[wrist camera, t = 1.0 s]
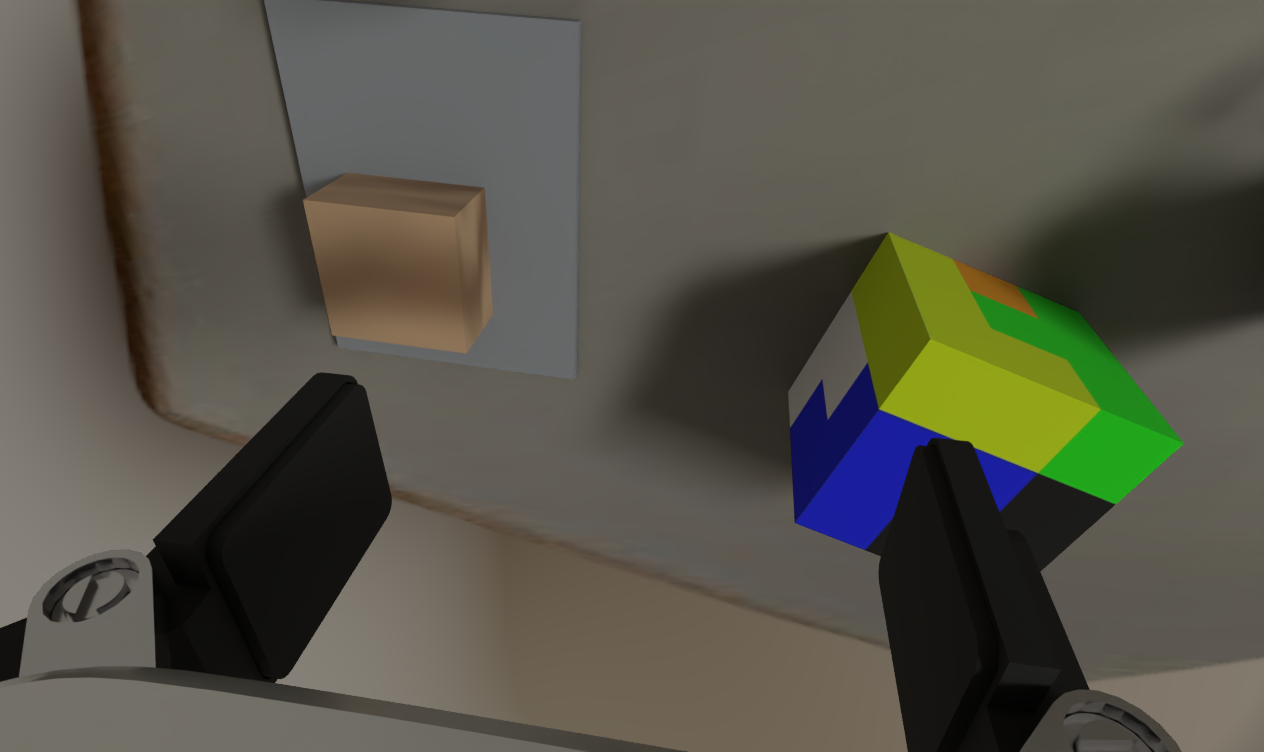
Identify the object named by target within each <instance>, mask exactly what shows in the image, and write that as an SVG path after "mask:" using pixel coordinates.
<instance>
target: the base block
mask: <svg viewBox="0 0 1264 752" xmlns="http://www.w3.org/2000/svg"><path fill="white" fill-rule="evenodd" d="M303 203H304V208H305V212H306V217H307V221H308V226H309V231H310V235H311V240H312V244H313V249H314V254H315V258H316V263H317V268H318V272H319V277H320V281H321V286H322V291H323V295H324V300H325V304H326V309H327V314H328V318H329V323H330V327H331V332H332V335H333V336H340V337H347V338H355V339H362V340H370V341H377V342H385V343H392V344H399V345H407V346H414V347H422V348H429V349H437V350H444V351H452V352H459V353H466V354H467V352H468V351H469V350H470V348H471V347H472V345H473V344H474V342H475V341H476V339H477V338H478V336H479V335H480V333H481V332H482V330H483V329H484V328H485V326H486V325H487V323H488V322H489V320H490V319H491V317H492V316H493V307H492V291H491V276H490V261H489V246H488V230H487V215H486V200H485V188H484V187H475V186H466V185H457V184H448V183H438V182H429V181H420V180H411V179H402V178H393V177H383V176H374V175H365V174H356V173H346V174H344V175H343V176H341V177H339V178H338V179H336V180H334V181H333V182H331V183H330V184H328V185H326V186H325V187H323V188H321V189H320V190H318V191H317V192H315V193H313V194H312V195H310V196H308V197H307V198H305V199H303Z"/></svg>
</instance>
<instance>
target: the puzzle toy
mask: <svg viewBox="0 0 1264 752" xmlns="http://www.w3.org/2000/svg"><path fill="white" fill-rule="evenodd" d="M788 398H789V418H790V438H791V458H792V478H793V498H794V518H795V523H796V524H799V525H801V526H804V527H807V528H809V529H812V530H814V531H817V532H819V533H822V534H825V535H827V536H830V537H832V538H835V539H838V540H840V541H843V542H845V543H848V544H850V545H853V546H856V547H858V548H861V549H863V550H866V551H869V552H871V553H874V554H876V555H879V556H881V555H882V552H883V549H884V546H885V542H886V539H887V536H888V533H889V530H890V526H891V523H892V520H893V517H894V514H895V510H896V507H897V504H898V501H899V498H900V494H901V491H902V488H903V485H904V481H905V478H906V475H907V472H908V469H909V465H910V462H911V459H912V456H913V453H914V450H915V448H916V447H917V446H918V445H922V446H927V444H928V442H929V440H930V439H931V438H942V439H951V440H961V441H969V442H971V443H972V445H973V446H974V448H975V451H976V454H977V456H978V459H979V461H980V464H981V466H982V469H983V471H984V474H985V477H986V479H987V482H988V484H989V487H990V489H991V492H992V494H993V497H994V499H995V502H996V505H997V507H998V510H999V512H1000V515H1001V517H1002V520H1003V522H1004V525H1005V528H1006V529H1007V530H1016V531H1019V532H1020V533H1021V534H1023V535H1024V537H1025V539H1026V540H1027V542H1028V544H1029V546H1030V549H1031V551H1032V553H1033V556H1034V558H1035V561H1036V563H1037V565H1038V568H1039V570H1040V571H1041V570H1043V569H1044V568H1045V567H1046V566H1047V565H1048V564H1049V563H1050V562H1052V561H1053V560H1054V559H1055V558H1056V557H1057V556H1058V555H1059V554H1060V553H1062V552H1063V551H1064V550H1065V549H1066V548H1067V547H1068V546H1069V545H1071V544H1072V543H1073V542H1074V541H1075V540H1076V539H1077V538H1078V537H1080V536H1081V535H1082V534H1083V533H1084V532H1085V531H1086V530H1087V529H1089V528H1090V527H1091V526H1092V525H1093V524H1094V523H1095V522H1096V521H1098V520H1099V519H1100V518H1101V517H1102V516H1103V515H1104V514H1105V513H1107V512H1108V511H1109V510H1110V509H1111V508H1112V507H1113V506H1114V505H1115V504H1117V503H1118V502H1119V501H1120V500H1121V499H1122V498H1123V497H1124V496H1126V495H1127V494H1128V493H1129V492H1130V491H1131V490H1132V489H1133V488H1135V487H1136V486H1137V485H1138V484H1139V483H1140V482H1141V481H1142V480H1144V479H1145V478H1146V477H1147V476H1148V475H1149V474H1150V473H1151V472H1153V471H1154V470H1155V469H1156V468H1157V467H1158V466H1159V465H1160V464H1161V463H1163V462H1164V461H1165V460H1166V459H1167V458H1168V457H1169V456H1170V455H1172V454H1173V453H1174V452H1175V451H1176V450H1177V449H1178V448H1179V447H1181V446H1182V445H1183V444H1184V443H1183V442H1182V440H1181V439H1180V438H1179V437H1178V435H1177V434H1176V433H1175V432H1174V430H1173V429H1172V428H1171V427H1170V425H1169V424H1168V423H1167V422H1166V420H1165V419H1164V418H1163V417H1162V415H1161V414H1160V413H1159V412H1158V410H1157V409H1156V408H1155V407H1154V405H1153V404H1152V403H1151V402H1150V400H1149V399H1148V398H1147V397H1146V395H1145V394H1144V393H1143V392H1142V390H1141V389H1140V388H1139V387H1138V385H1137V384H1136V383H1135V382H1134V380H1133V379H1132V378H1131V377H1130V375H1129V374H1128V373H1127V372H1126V370H1125V369H1124V368H1123V367H1122V365H1121V364H1120V363H1119V362H1118V360H1117V359H1116V358H1115V357H1114V355H1113V354H1112V353H1111V352H1110V350H1109V349H1108V348H1107V347H1106V345H1105V344H1104V343H1103V342H1102V340H1101V339H1100V338H1099V337H1098V335H1097V334H1096V333H1095V332H1094V330H1093V329H1092V328H1091V327H1090V325H1089V324H1088V323H1087V321H1086V320H1085V319H1084V318H1083V316H1082V315H1081V314H1080V313H1079V312H1077V311H1075V310H1072V309H1070V308H1067V307H1065V306H1063V305H1060V304H1058V303H1056V302H1053V301H1051V300H1048V299H1046V298H1044V297H1041V296H1039V295H1037V294H1034V293H1032V292H1029V291H1027V290H1025V289H1022V288H1020V287H1017V286H1015V285H1013V284H1010V283H1008V282H1006V281H1003V280H1001V279H998V278H996V277H994V276H991V275H989V274H987V273H984V272H982V271H979V270H977V269H975V268H972V267H970V266H968V265H965V264H963V263H960V262H958V261H956V260H953V259H951V258H949V257H946V256H944V255H941V254H939V253H937V252H934V251H932V250H930V249H927V248H925V247H922V246H920V245H918V244H915V243H913V242H911V241H908V240H906V239H903V238H901V237H899V236H896V235H894V234H892V233H889V232H888V234H887V235H886V237H885V238H884V240H883V242H882V243H881V245H880V246H879V248H878V249H877V251H876V253H875V254H874V256H873V257H872V259H871V261H870V262H869V264H868V265H867V267H866V269H865V270H864V272H863V273H862V275H861V277H860V278H859V280H858V281H857V283H856V285H855V286H854V288H853V289H852V291H851V293H850V294H849V296H848V297H847V299H846V301H845V302H844V304H843V305H842V307H841V308H840V310H839V312H838V313H837V315H836V316H835V318H834V320H833V321H832V323H831V324H830V326H829V328H828V329H827V331H826V332H825V334H824V336H823V337H822V339H821V340H820V342H819V344H818V345H817V347H816V348H815V350H814V352H813V353H812V355H811V356H810V358H809V360H808V361H807V363H806V364H805V366H804V367H803V369H802V371H801V372H800V374H799V375H798V377H797V379H796V380H795V382H794V383H793V385H792V387H791V388H790V390H789V391H788Z"/></svg>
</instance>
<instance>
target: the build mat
mask: <svg viewBox="0 0 1264 752" xmlns="http://www.w3.org/2000/svg"><path fill="white" fill-rule="evenodd" d="M264 3H265V7H266V12H267V17H268V21H269V26H270V31H271V36H272V40H273V45H274V50H275V54H276V59H277V64H278V68H279V73H280V78H281V82H282V87H283V92H284V96H285V101H286V106H287V110H288V115H289V120H290V124H291V129H292V134H293V138H294V143H295V148H296V152H297V157H298V162H299V166H300V171H301V176H302V180H303V185H304V190H305V195H306V198H307V197H308V196H310V195H312V194H313V193H315V192H317V191H318V190H320V189H321V188H323V187H325V186H326V185H328V184H330V183H331V182H333V181H334V180H336V179H338V178H339V177H341V176H343V175H344V174H346V173H356V174H365V175H374V176H383V177H393V178H402V179H411V180H420V181H429V182H438V183H448V184H457V185H466V186H475V187H484V188H485V200H486V215H487V230H488V246H489V261H490V276H491V291H492V307H493V316H492V317H491V319H490V320H489V322H488V323H487V325H486V326H485V328H484V329H483V330H482V332H481V333H480V335H479V336H478V338H477V339H476V341H475V342H474V344H473V345H472V347H471V348H470V350H469V351H468V352H467V354H466V353H459V352H452V351H444V350H437V349H429V348H422V347H414V346H407V345H399V344H392V343H385V342H377V341H370V340H362V339H355V338H347V337H340V336H336V339H337V344H338V348H344V349H352V350H359V351H366V352H374V353H381V354H388V355H396V356H403V357H410V358H418V359H425V360H433V361H440V362H447V363H455V364H462V365H469V366H477V367H484V368H491V369H499V370H506V371H513V372H521V373H528V374H535V375H543V376H550V377H557V378H565V379H572V380H574V379H575V377H576V374H577V306H578V223H579V139H580V55H581V20H574V19H562V18H550V17H538V16H525V15H513V14H501V13H489V12H477V11H465V10H453V9H441V8H429V7H417V6H405V5H393V4H380V3H368V2H356V1H344V0H264Z"/></svg>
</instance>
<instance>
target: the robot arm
mask: <svg viewBox="0 0 1264 752" xmlns="http://www.w3.org/2000/svg"><path fill="white" fill-rule="evenodd" d="M391 504H392V497H391V492H390V488H389V484H388V480H387V476H386V472H385V467H384V463H383V459H382V455H381V451H380V447H379V443H378V438H377V434H376V430H375V426H374V422H373V418H372V414H371V410H370V405H369V401H368V397H367V393H366V390H365V388H364V387H363V386H362V385H358V383H357V381H356V379H355V378H354V377H352V376H350V375H341V374H331V373H317V374H316V375H314V376H313V377H312V378H311V379H310V380H309V381H308V382H307V383H306V384H305V385H304V386H303V387H302V388H301V389H300V390H299V391H298V392H297V393H296V394H295V395H294V396H293V397H292V398H291V399H290V400H289V401H288V402H287V403H286V404H285V405H284V406H283V407H282V408H281V409H280V411H279V412H278V413H277V414H276V415H275V416H274V417H273V418H272V419H271V420H270V421H269V422H268V423H267V424H266V425H265V426H264V427H263V428H262V429H261V430H260V431H259V432H258V433H257V434H256V435H255V436H254V437H253V438H252V439H251V440H250V441H249V442H248V443H247V444H246V445H245V446H244V447H243V448H242V449H241V450H240V451H239V452H238V453H237V454H236V455H235V457H233V459H231V461H230V462H229V463H228V464H227V465H226V466H225V467H224V468H223V469H222V470H221V471H220V472H219V473H218V474H217V475H216V476H215V477H214V478H213V479H212V480H211V481H210V482H209V483H208V484H207V485H206V486H205V487H204V488H203V489H202V490H201V491H200V492H199V493H198V494H197V495H196V496H195V497H194V498H193V499H192V500H191V501H190V502H189V503H188V504H187V506H185V507H184V509H182V511H181V512H180V513H179V514H178V515H177V516H176V517H175V518H174V519H173V520H172V521H171V522H170V523H169V524H168V525H167V526H166V527H165V528H164V529H163V530H162V531H161V532H160V533H159V534H158V535H157V536H156V537H155V538H154V539H153V541H154V543H155V545H156V547H155V548H154V549H153V550H152V551H151V552H150V553H149V554H148V555H147V556H144V555H143V554H142V553H140V552H136V551H132V550H110V551H106V552H102V553H98V554H94V555H91V556H89V557H86V558H84V559H81V560H79V561H77V562H75V563H73V564H71V565H70V566H68V567H66V568H65V569H63V570H61V571H59V572H58V573H57V574H55V576H53V577H52V578H51V579H50V580H49V581H47V582H46V583H45V584H44V585H43V586H42V587H41V589H40V590H39V591H38V592H37V593H36V595H35V596H34V597H33V599H32V602H31V605H30V607H29V610H28V616H27V618H25V619H22V620H20V621H17V622H15V623H12V624H9V625H7V626H4V627H2V628H0V752H686V751H681V750H674V749H669V748H663V747H657V746H652V745H646V744H640V743H634V742H628V741H623V740H617V739H610V738H604V737H599V736H593V735H587V734H581V733H575V732H569V731H563V730H557V729H551V728H545V727H540V726H533V725H528V724H522V723H515V722H510V721H504V720H497V719H492V718H485V717H479V716H474V715H467V714H462V713H455V712H449V711H444V710H438V709H432V708H426V707H420V706H412V705H407V704H400V703H395V702H389V701H382V700H376V699H370V698H363V697H358V696H351V695H345V694H339V693H333V692H326V691H320V690H314V689H307V688H301V687H296V686H289V685H283V684H277V683H275V682H276V681H277V679H282V678H285V677H286V676H287V675H288V674H289V673H290V671H291V670H292V669H293V667H294V665H295V664H296V662H297V661H298V659H299V657H300V656H301V654H302V653H303V651H304V650H305V648H306V646H307V645H308V643H309V642H310V640H311V638H312V637H313V635H314V634H315V632H316V630H317V629H318V627H319V626H320V624H321V622H322V621H323V619H324V618H325V616H326V614H327V613H328V611H329V610H330V608H331V607H332V605H333V603H334V602H335V600H336V599H337V597H338V595H339V594H340V592H341V590H342V589H343V587H344V586H345V584H346V583H347V581H348V579H349V578H350V576H351V575H352V573H353V571H354V570H355V568H356V567H357V565H358V563H359V562H360V560H361V558H362V557H363V555H364V554H365V552H366V551H367V549H368V548H369V546H370V544H371V543H372V541H373V540H374V538H375V536H376V535H377V533H378V531H379V530H380V528H381V527H382V525H383V524H384V522H385V520H386V519H387V517H388V515H389V513H390V509H391ZM879 584H880V590H881V596H882V602H883V608H884V614H885V620H886V625H887V631H888V637H889V643H890V649H891V654H892V661H893V666H894V672H895V677H896V684H897V690H898V695H899V702H900V707H901V713H902V719H903V725H904V730H905V736H906V743H907V749H908V752H1181V750H1180V748H1179V746H1178V745H1177V743H1176V742H1175V741H1174V740H1173V739H1172V737H1171V736H1170V735H1169V734H1168V733H1167V732H1166V731H1165V729H1163V727H1162V726H1161V725H1160V724H1159V723H1157V722H1156V721H1155V720H1154V719H1152V718H1151V717H1150V716H1149V715H1147V714H1146V713H1145V712H1143V711H1142V710H1141V709H1140V708H1138V707H1136V706H1134V705H1132V704H1130V703H1128V702H1126V701H1125V700H1123V699H1121V698H1119V697H1116V696H1113V695H1110V694H1107V693H1104V692H1100V691H1094V690H1089V687H1088V685H1087V682H1086V680H1085V678H1084V675H1083V673H1082V671H1081V668H1080V666H1079V663H1078V661H1077V659H1076V656H1075V654H1074V651H1073V649H1072V647H1071V644H1070V642H1069V639H1068V637H1067V635H1066V632H1065V630H1064V628H1063V625H1062V623H1061V620H1060V618H1059V616H1058V613H1057V611H1056V608H1055V606H1054V604H1053V601H1052V599H1051V596H1050V594H1049V592H1048V589H1047V587H1046V585H1045V582H1044V580H1043V577H1042V575H1041V573H1040V570H1039V568H1038V565H1037V563H1036V561H1035V558H1034V556H1033V553H1032V551H1031V549H1030V546H1029V544H1028V542H1027V540H1026V539H1025V537H1024V535H1023V534H1021V533H1020V532H1019V531H1016V530H1007V529H1006V528H1005V525H1004V522H1003V520H1002V517H1001V515H1000V512H999V510H998V507H997V505H996V502H995V499H994V497H993V494H992V492H991V489H990V487H989V484H988V482H987V479H986V477H985V474H984V471H983V469H982V466H981V464H980V461H979V459H978V456H977V454H976V451H975V448H974V446H973V445H972V443H971V442H969V441H961V440H951V439H942V438H931V439H930V440H929V442H928V444H927V446H922V445H918V446H917V447H916V448H915V450H914V453H913V456H912V459H911V462H910V465H909V469H908V472H907V475H906V478H905V481H904V485H903V488H902V491H901V494H900V498H899V501H898V504H897V507H896V510H895V514H894V517H893V520H892V523H891V526H890V530H889V533H888V536H887V539H886V542H885V546H884V549H883V552H882V555H881V559H880V563H879Z"/></svg>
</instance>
